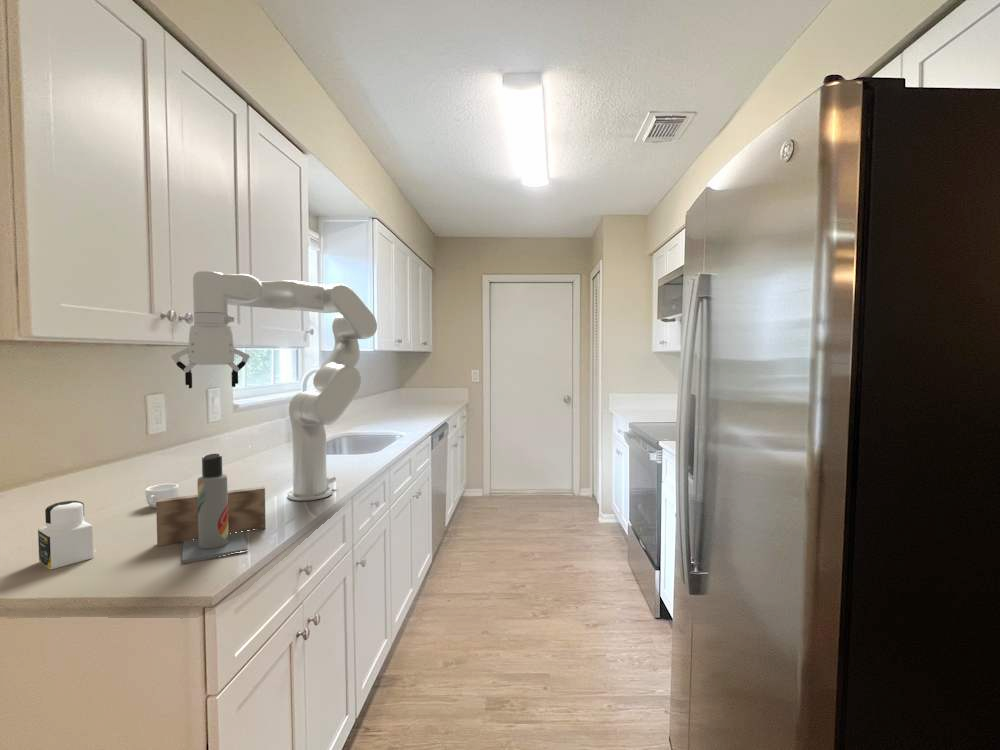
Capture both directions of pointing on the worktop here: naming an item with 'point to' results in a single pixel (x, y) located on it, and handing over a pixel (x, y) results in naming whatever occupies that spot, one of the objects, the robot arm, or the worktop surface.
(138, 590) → the worktop surface
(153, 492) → the teacup
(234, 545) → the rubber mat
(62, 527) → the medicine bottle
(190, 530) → the brown wooden board
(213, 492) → the lotion bottle
